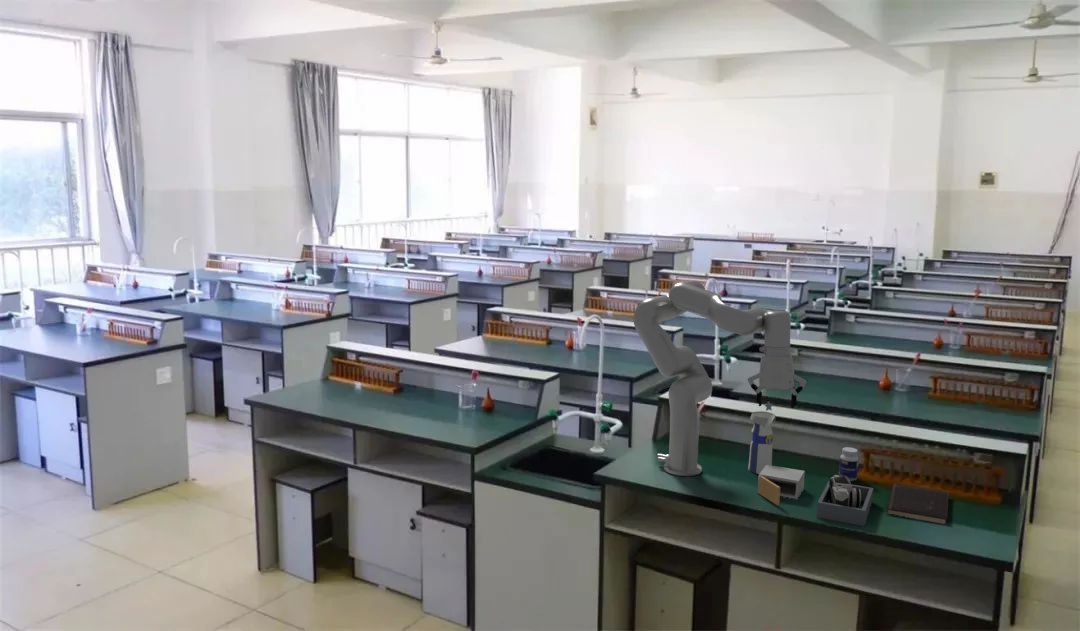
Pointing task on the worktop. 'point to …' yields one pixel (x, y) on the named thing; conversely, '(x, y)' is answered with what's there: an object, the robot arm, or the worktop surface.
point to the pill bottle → (849, 463)
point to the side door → (768, 490)
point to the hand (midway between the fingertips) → (776, 406)
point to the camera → (844, 492)
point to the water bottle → (761, 440)
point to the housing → (785, 480)
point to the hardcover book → (919, 503)
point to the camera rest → (845, 507)
